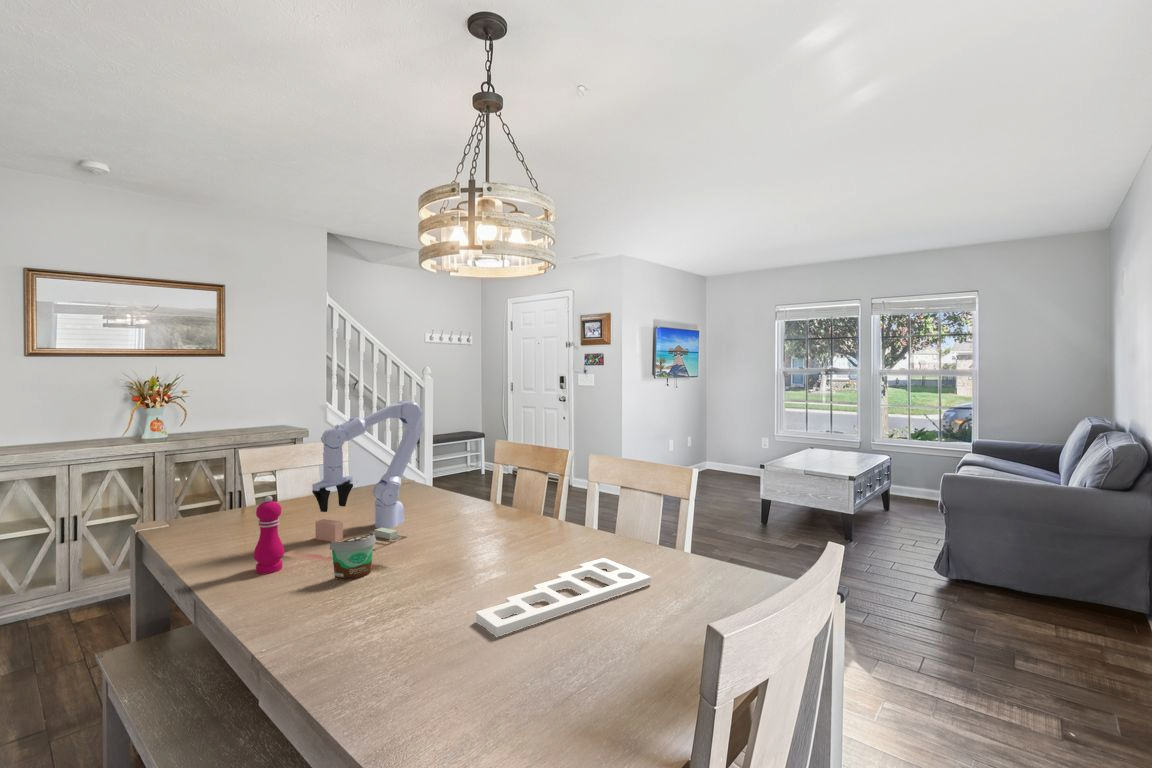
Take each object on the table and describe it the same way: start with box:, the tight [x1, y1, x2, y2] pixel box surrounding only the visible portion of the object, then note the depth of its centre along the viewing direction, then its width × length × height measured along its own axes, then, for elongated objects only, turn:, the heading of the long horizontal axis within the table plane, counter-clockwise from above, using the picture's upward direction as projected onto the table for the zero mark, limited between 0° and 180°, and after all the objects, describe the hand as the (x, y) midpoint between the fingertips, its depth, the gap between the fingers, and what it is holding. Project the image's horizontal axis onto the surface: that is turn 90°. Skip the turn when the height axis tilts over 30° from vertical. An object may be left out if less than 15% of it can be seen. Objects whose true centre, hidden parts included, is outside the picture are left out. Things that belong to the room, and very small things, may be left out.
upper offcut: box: [373, 527, 399, 541], centre depth 175 cm, size 3×7×2 cm, turn 60°
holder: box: [475, 557, 652, 636], centre depth 134 cm, size 45×18×3 cm, turn 129°
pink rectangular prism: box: [315, 518, 344, 542], centre depth 172 cm, size 3×8×7 cm, turn 68°
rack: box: [373, 532, 407, 552], centre depth 170 cm, size 15×12×2 cm
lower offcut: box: [375, 536, 402, 541], centre depth 175 cm, size 3×9×2 cm, turn 68°
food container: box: [329, 530, 377, 581], centre depth 146 cm, size 12×6×10 cm, turn 143°
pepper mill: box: [253, 495, 285, 575], centre depth 150 cm, size 7×7×20 cm
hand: (333, 508), depth 178 cm, fingers open, 7 cm apart
